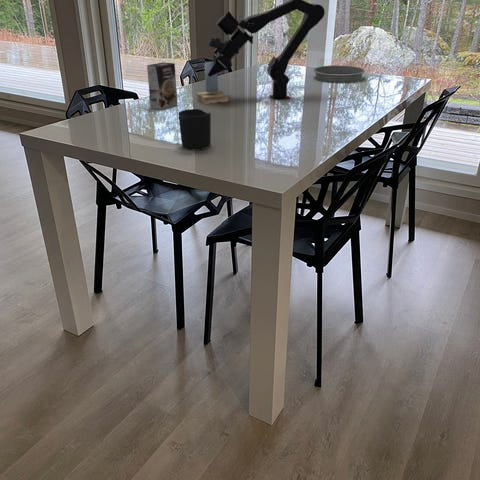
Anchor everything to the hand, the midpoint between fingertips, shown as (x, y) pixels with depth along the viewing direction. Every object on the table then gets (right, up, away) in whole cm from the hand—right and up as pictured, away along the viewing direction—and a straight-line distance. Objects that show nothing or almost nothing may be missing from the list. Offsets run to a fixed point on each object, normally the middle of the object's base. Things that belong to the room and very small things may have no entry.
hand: (208, 74), depth 193 cm
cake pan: (+61, +12, +43) cm, 75 cm away
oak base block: (+1, -9, +5) cm, 10 cm away
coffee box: (-17, -14, -4) cm, 23 cm away
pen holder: (-1, -38, -46) cm, 60 cm away
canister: (+1, -6, +3) cm, 7 cm away
